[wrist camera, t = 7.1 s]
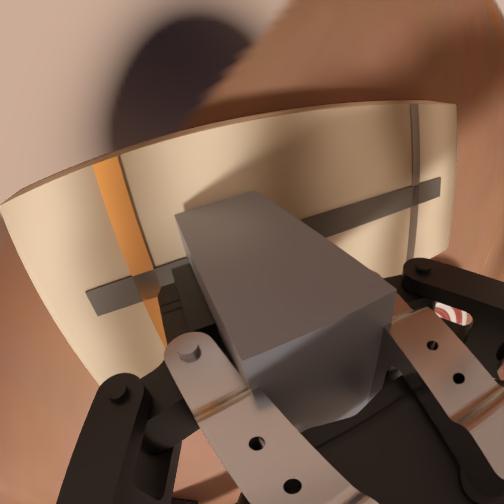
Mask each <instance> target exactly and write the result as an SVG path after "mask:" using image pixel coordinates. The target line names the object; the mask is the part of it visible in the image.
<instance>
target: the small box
mask: <svg viewBox="0 0 504 504" xmlns="http://www.w3.org/2000/svg"><path fill="white" fill-rule="evenodd" d="M171 504H198V502H194V501H186V500H179V499H173V498H172V500H171Z"/></svg>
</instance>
